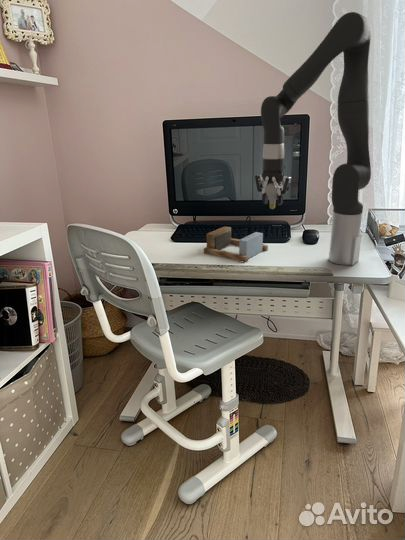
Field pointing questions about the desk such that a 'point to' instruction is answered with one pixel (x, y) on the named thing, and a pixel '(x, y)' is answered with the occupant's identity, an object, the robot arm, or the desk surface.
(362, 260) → the desk surface
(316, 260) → the desk surface
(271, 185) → the light bulb
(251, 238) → the slide jaw
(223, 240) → the vise frame
